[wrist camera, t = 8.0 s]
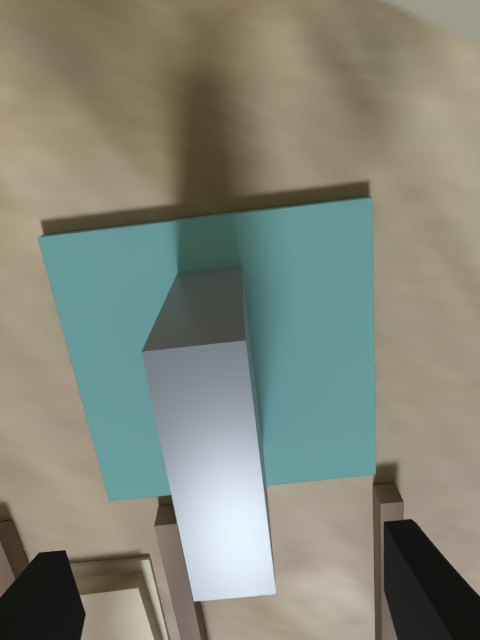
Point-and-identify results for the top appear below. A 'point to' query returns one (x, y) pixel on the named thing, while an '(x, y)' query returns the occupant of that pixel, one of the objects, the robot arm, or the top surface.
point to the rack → (9, 562)
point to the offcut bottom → (120, 567)
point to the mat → (264, 325)
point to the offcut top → (117, 607)
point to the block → (212, 433)
